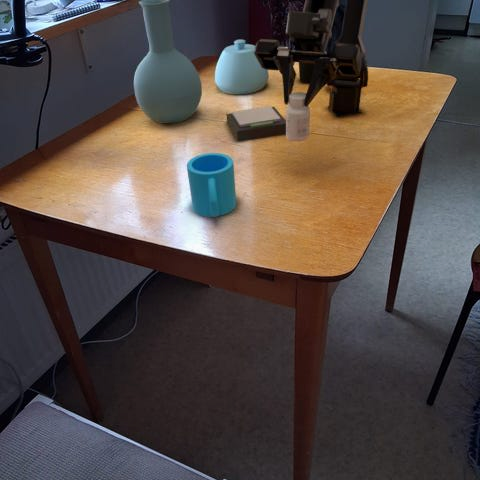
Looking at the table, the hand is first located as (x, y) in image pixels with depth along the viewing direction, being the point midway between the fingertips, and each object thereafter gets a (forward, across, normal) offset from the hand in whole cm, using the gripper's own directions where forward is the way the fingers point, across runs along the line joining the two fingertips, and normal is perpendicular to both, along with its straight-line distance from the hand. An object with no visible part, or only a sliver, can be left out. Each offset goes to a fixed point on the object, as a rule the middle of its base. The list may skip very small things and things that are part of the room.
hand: (295, 104), depth 86 cm
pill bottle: (+4, 0, +6) cm, 7 cm away
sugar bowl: (-22, -32, +42) cm, 57 cm away
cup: (-28, -15, +49) cm, 59 cm away
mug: (+22, -9, -2) cm, 24 cm away
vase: (-4, -41, +25) cm, 48 cm away
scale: (-4, -16, +24) cm, 29 cm away
